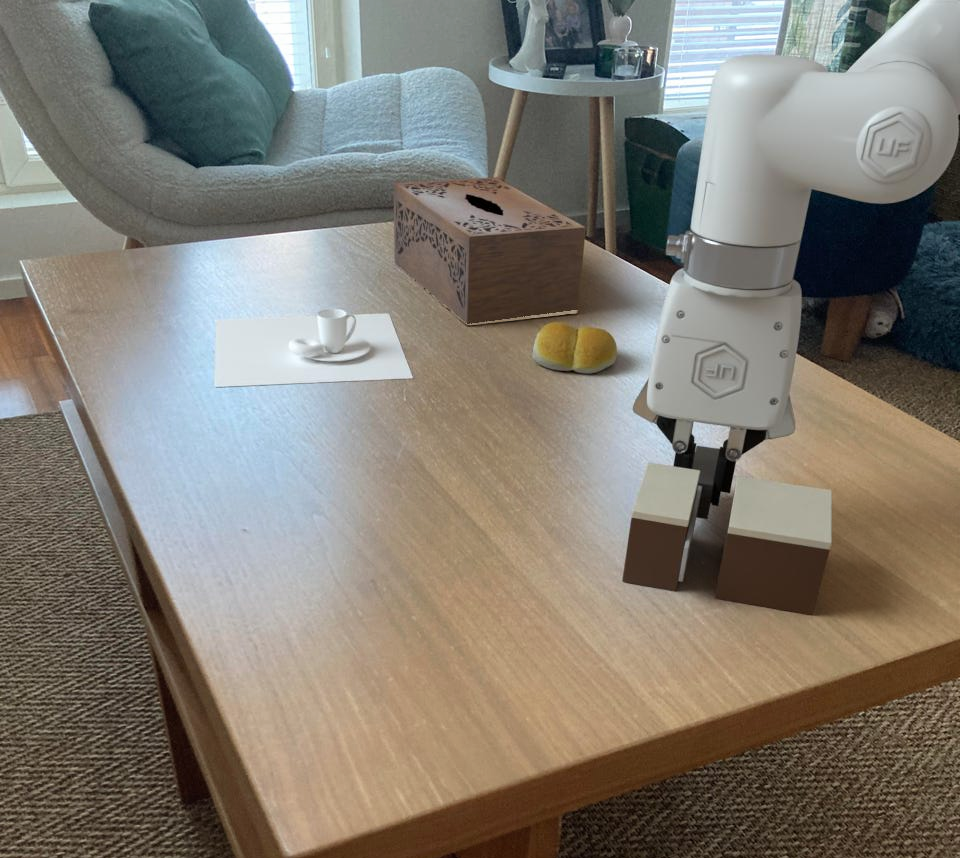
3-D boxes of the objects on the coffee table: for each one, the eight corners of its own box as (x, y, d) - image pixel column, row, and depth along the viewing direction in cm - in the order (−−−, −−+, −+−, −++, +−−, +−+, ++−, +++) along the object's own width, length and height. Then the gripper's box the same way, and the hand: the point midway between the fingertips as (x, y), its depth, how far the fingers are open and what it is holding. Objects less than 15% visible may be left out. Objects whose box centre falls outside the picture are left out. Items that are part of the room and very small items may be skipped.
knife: (691, 478, 87) (696, 445, 85) (715, 481, 87) (721, 448, 85) (666, 579, 74) (672, 542, 72) (694, 584, 73) (701, 547, 71)
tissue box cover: (394, 263, 138) (393, 183, 132) (493, 254, 143) (496, 177, 137) (466, 326, 119) (469, 236, 113) (578, 314, 124) (585, 227, 118)
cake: (813, 559, 79) (832, 489, 76) (812, 615, 73) (832, 542, 70) (723, 544, 81) (737, 475, 77) (714, 598, 74) (728, 526, 71)
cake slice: (688, 538, 81) (700, 470, 78) (676, 591, 75) (689, 520, 72) (638, 530, 82) (648, 461, 79) (621, 582, 76) (632, 510, 72)
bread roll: (614, 378, 108) (618, 341, 105) (529, 371, 108) (531, 334, 106) (617, 350, 114) (621, 314, 112) (536, 344, 115) (539, 308, 113)
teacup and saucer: (290, 367, 107) (287, 328, 105) (287, 340, 113) (284, 303, 111) (374, 363, 109) (373, 325, 106) (366, 337, 115) (365, 300, 112)
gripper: (618, 262, 70) (592, 501, 81) (860, 289, 67) (799, 534, 78) (635, 234, 76) (609, 461, 87) (857, 258, 73) (801, 490, 84)
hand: (699, 494), depth 82 cm, fingers closed on knife, 2 cm apart
